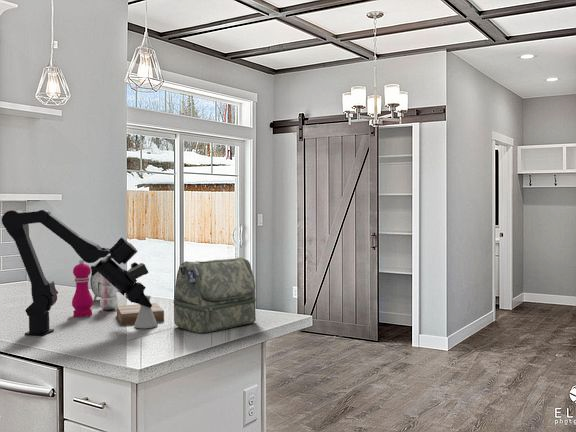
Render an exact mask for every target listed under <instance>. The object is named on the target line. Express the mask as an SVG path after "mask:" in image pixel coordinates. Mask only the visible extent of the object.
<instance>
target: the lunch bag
mask: <svg viewBox="0 0 576 432" xmlns="http://www.w3.org/2000/svg"><path fill="white" fill-rule="evenodd" d="M175 280H176V281H175V287H174V298H173V321H174V322H173V323H174V324H175V326H176V327H178V328H180V329H183V330H186V331H190V332H192V333H197V334H205V333H212V332H217V331H222V330H227V328H228V329H231V328H236V327H240V326H244V325H249V324H253V323H255V322H256V321H257V319H256V301H257V300H256V281H255V278H254V273H253V270H252V265H251V263H250V261H249V260H248V259H245V258H243V257H235V258H223V259H211V260H206V261H205V260H204V261H203V260H202V261H199V260H198V261H197V260H196V261H183V262H182V263H181V264H180V265H179V266H178V270H177V274H176V279H175Z"/></svg>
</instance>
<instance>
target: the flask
mask: <svg viewBox="0 0 576 432" xmlns="http://www.w3.org/2000/svg"><path fill="white" fill-rule="evenodd" d="M145 296H146V297H147V299H148V300H149V301H150V302H151V297H152V296H151V295H146V294H145ZM158 326H159V324H158V322H156V319H155V317H154V314H153V312H152V309H151V308H149V307H146V306H143V305H141V307H140V310H139V313H138V316H137V319H136V322H135V323H134V325H133V327H134V328H136V329H151V328H155V327H158Z"/></svg>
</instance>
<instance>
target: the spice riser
mask: <svg viewBox="0 0 576 432" xmlns="http://www.w3.org/2000/svg"><path fill="white" fill-rule="evenodd" d="M151 304H152V307H151V309H152V312H153V314H154V317H155V319H156V322H157V321H158V322H165V310H164V309H163V308H162V307H161V306H160V305H159V304H158V303H157V302H155V303H152V302H151ZM140 307H141V305H140V304H125V305H117V307H116V317H117V319H118V322H119V323H120V324H121V325H132V324H134V325H135V322H136V319H137V316H138V313H139V310H140ZM158 322H157V323H158Z"/></svg>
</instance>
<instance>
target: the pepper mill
mask: <svg viewBox="0 0 576 432" xmlns="http://www.w3.org/2000/svg"><path fill="white" fill-rule="evenodd" d="M91 273H92V271H91V266H89V264H87V263H85V261H84V260H83V259H80V260H79V261H78V264H76V265H75V266H74V267H73V269H72V274H73V275H74V277H75V278H74V282H75V285H76V286H75V292H74V294H73V297H72V301H71V306H72V308H74V310H73V317H75V318H76V317H77V318H82V317H83V318H85V317H90V316H92V315H93V309H91V308H92V307H93V304H94V298H93V296H92V294H91V292H90V289H89V282H90V277H89V276H91Z"/></svg>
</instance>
